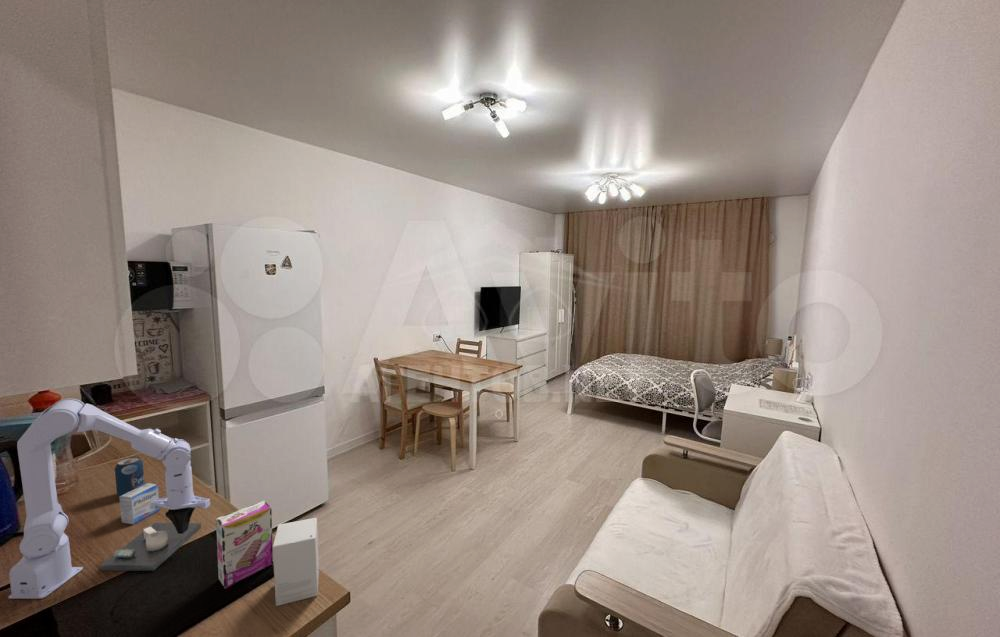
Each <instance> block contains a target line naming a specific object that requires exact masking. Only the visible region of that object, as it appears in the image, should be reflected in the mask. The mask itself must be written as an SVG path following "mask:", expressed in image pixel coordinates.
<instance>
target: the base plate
mask: <svg viewBox="0 0 1000 637" xmlns="http://www.w3.org/2000/svg"><path fill="white" fill-rule="evenodd" d="M150 526H151V527H152V528H153V529H154V530H155V531H157V532H158V531H166V532H167V538H168V544H167V545H166V546H165V547H163V548H161V549H159V550H156V551H147V549H146V539H145V538H143V537H142V532H141V533H140V534H138V535H137V536H136V537H135V538H133V539H132V540H131V541H130V542H128V543H127V544H125V546H123V547H121V548H120V549H117V550H115V551H114V553H113V555H111V556H110V557H109V558H108V559H106V560H105V561H104V562H102V563H101V564H99V566H100V568H99V569H100V571H104V572H105V571H107V572H108V571H113V572H114V571H115V572H117V571H122V572H125V571H128V572H129V571H131V572H132V571H140V572H141V571H142V572H143V571H146V572H147V571H155V570H156V569H157V568H159V566H160V565H162V564H163V563H165V561H166V560H167V559H169V557H171V556H172V555H173V554H174V553H175V552H176V551H178V549H179V548H181V547H182V545H184V544H185V543H186V542H187V541H188V540H190V538H192V537H193V536H194V535H196V533H197V532H198V531H199V530H200V529H201V528H202V527H201V526H202V525H201V523H199V522H198V523H197V522H195V523H194V522H189V526H188V530H187V531H185V532H184V533H183V534H178V532H177V530H176V528H175V526H174V524H173V523H172V522H169V523H168V522H155V523H153V524H152V525H150Z"/></svg>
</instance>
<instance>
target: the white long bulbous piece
mask: <svg viewBox="0 0 1000 637" xmlns="http://www.w3.org/2000/svg"><path fill="white" fill-rule="evenodd" d="M151 526H152V525H146V526H144V527H142V528H141V533H142V537H143V538H145V539H146V549H147V551H156V550H159V549H161V548H163V547H165V546H166V545H167V544H168V538H167V532H166V531H158V532H157V531H155V530H154V529H153V528H152V527H151Z"/></svg>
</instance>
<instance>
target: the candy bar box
mask: <svg viewBox="0 0 1000 637" xmlns="http://www.w3.org/2000/svg"><path fill="white" fill-rule="evenodd" d="M272 514H273V513H272V506H270V505H269V504H268V503H267V501H265V500H262V501H260V502H259V501H258V502H257V503H254V504H251V505H250V506H245V507H244V508H240V509H238V510H235V511H233V512H230V513H227V514H224V515H222V516H219V517H217V518H216V519H215V527H216V529H215V530H216V546H217V548H216V552H217V568H218V569H217V575H218V581H219V582H220V583H221V585H222V586H224V587H223V588H224V589H225V590H226V589H228V588H230V587H232V586H234V585H236V584H238V583H240V582H242V581H243V579H244V580H246V579H247V577H248V578H249V576H250V577H251V575H252V576H253V574H254V575H256V574H257V573H259V572H258V571H260V572H262V571H263V570H262V569H264V570H265V568H266V567H268V566H270V565H272V566H274V562H273V549H272V547H273V522H272V521H273V518H272ZM270 567H271V566H270ZM268 568H269V567H268ZM266 569H267V568H266ZM261 570H262V571H261ZM256 572H257V573H256ZM255 573H256V574H255ZM245 578H246V579H245ZM241 580H242V581H241ZM239 581H240V582H239Z"/></svg>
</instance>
